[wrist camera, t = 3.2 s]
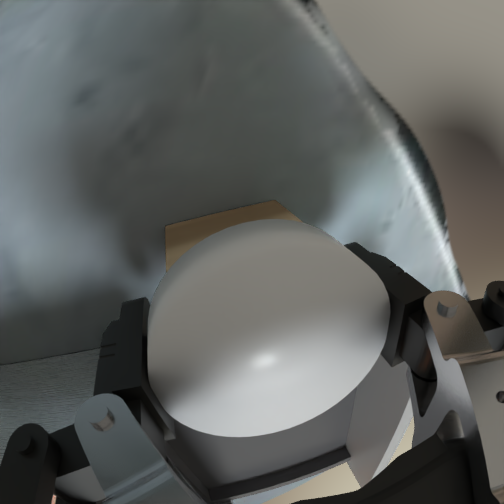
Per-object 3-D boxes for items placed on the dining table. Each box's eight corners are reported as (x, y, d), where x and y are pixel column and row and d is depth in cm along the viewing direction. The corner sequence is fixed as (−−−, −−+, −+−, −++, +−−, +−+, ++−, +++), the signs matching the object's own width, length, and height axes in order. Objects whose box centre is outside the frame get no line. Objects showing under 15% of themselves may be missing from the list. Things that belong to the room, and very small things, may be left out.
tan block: (165, 225, 10) (166, 283, 7) (274, 200, 11) (327, 241, 8) (192, 316, 12) (207, 391, 9) (285, 291, 13) (327, 353, 9)
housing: (-33, 369, 10) (-70, 470, 4) (150, 337, 12) (161, 498, 6) (89, 488, 17) (93, 559, 11) (224, 472, 19) (248, 550, 13)
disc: (112, 255, 6) (101, 295, 5) (360, 196, 7) (401, 217, 6) (186, 414, 9) (193, 454, 8) (353, 361, 10) (375, 393, 9)
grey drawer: (107, 368, 11) (100, 464, 7) (372, 294, 13) (436, 358, 9) (202, 489, 17) (214, 539, 13) (348, 444, 19) (373, 487, 15)
